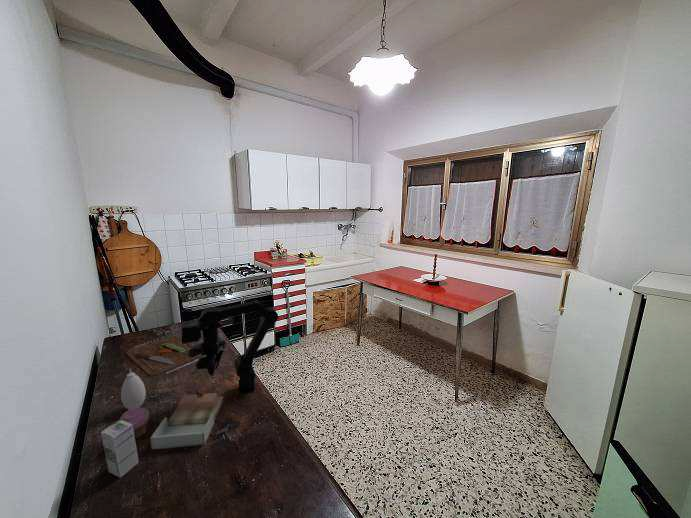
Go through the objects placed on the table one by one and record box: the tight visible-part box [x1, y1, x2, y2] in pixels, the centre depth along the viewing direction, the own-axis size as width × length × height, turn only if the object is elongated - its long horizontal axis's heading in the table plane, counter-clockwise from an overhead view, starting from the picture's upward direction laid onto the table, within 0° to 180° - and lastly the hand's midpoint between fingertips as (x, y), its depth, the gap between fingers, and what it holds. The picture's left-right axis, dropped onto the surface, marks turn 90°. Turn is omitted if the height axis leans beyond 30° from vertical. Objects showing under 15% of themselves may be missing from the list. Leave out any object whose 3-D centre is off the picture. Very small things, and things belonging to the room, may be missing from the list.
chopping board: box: [125, 335, 201, 377], centre depth 153 cm, size 45×27×3 cm, turn 54°
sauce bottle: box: [120, 368, 147, 410], centre depth 109 cm, size 8×8×18 cm
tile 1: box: [177, 394, 198, 411], centre depth 108 cm, size 5×5×3 cm
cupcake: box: [118, 407, 150, 440], centre depth 96 cm, size 9×9×10 cm
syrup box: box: [100, 420, 139, 478], centre depth 84 cm, size 6×6×14 cm
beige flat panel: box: [167, 395, 224, 426], centre depth 108 cm, size 16×12×2 cm
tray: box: [149, 413, 215, 451], centre depth 97 cm, size 17×10×4 cm, turn 97°
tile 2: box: [200, 392, 218, 409], centre depth 109 cm, size 5×5×3 cm
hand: (213, 372), depth 115 cm, fingers open, 4 cm apart
